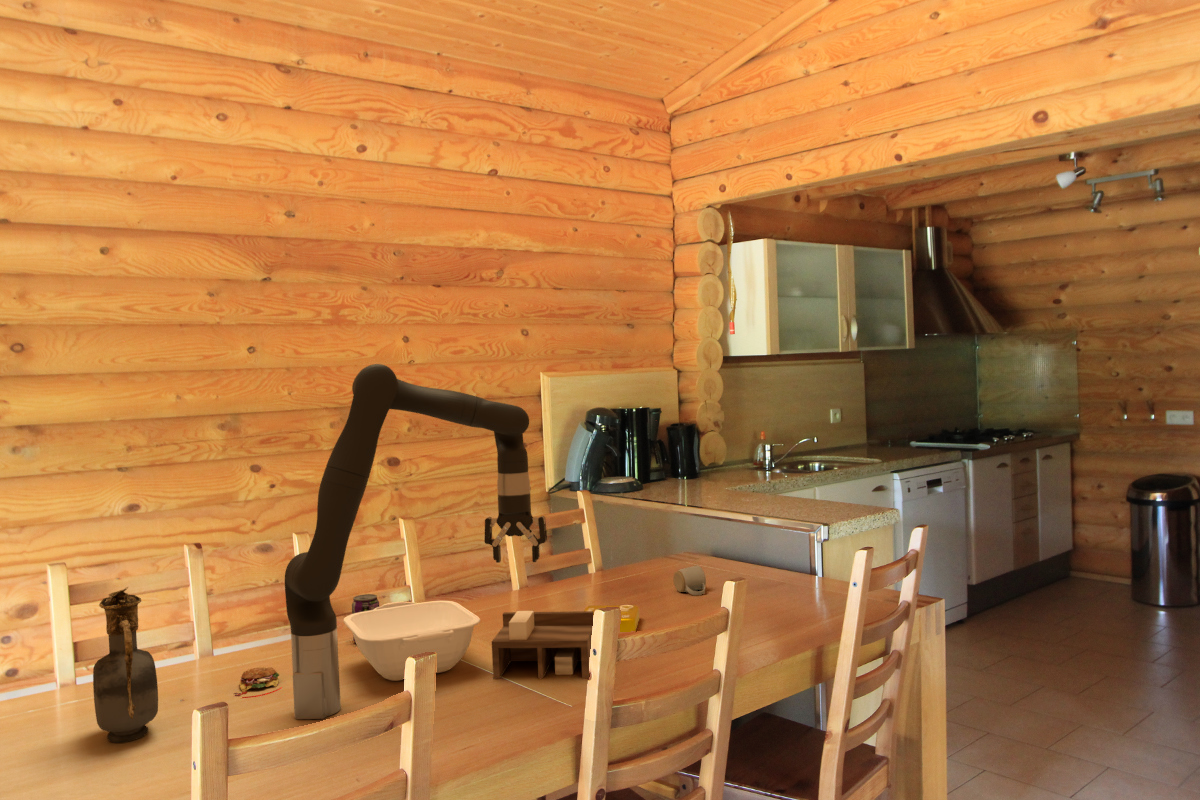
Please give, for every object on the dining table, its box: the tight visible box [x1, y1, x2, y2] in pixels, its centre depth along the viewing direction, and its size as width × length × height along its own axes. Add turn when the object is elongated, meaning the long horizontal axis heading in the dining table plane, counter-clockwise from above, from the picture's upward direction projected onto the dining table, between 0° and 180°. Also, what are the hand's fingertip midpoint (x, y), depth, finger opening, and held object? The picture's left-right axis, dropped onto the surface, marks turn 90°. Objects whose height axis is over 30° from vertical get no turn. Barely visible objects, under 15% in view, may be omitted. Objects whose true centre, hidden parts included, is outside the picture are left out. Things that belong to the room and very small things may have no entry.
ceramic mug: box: [673, 564, 707, 596], centre depth 278 cm, size 11×8×8 cm
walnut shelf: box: [491, 610, 594, 680], centre depth 210 cm, size 14×22×12 cm, turn 84°
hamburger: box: [233, 667, 283, 699], centre depth 205 cm, size 14×14×6 cm
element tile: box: [583, 604, 640, 632], centre depth 244 cm, size 15×15×5 cm
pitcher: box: [92, 586, 159, 744], centre depth 177 cm, size 11×19×30 cm, turn 33°
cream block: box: [509, 610, 535, 640], centre depth 210 cm, size 10×4×4 cm, turn 174°
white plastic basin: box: [343, 600, 481, 682], centre depth 213 cm, size 34×28×13 cm
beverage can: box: [351, 593, 380, 643], centre depth 238 cm, size 7×7×12 cm
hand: (516, 561), depth 207 cm, fingers open, 8 cm apart
